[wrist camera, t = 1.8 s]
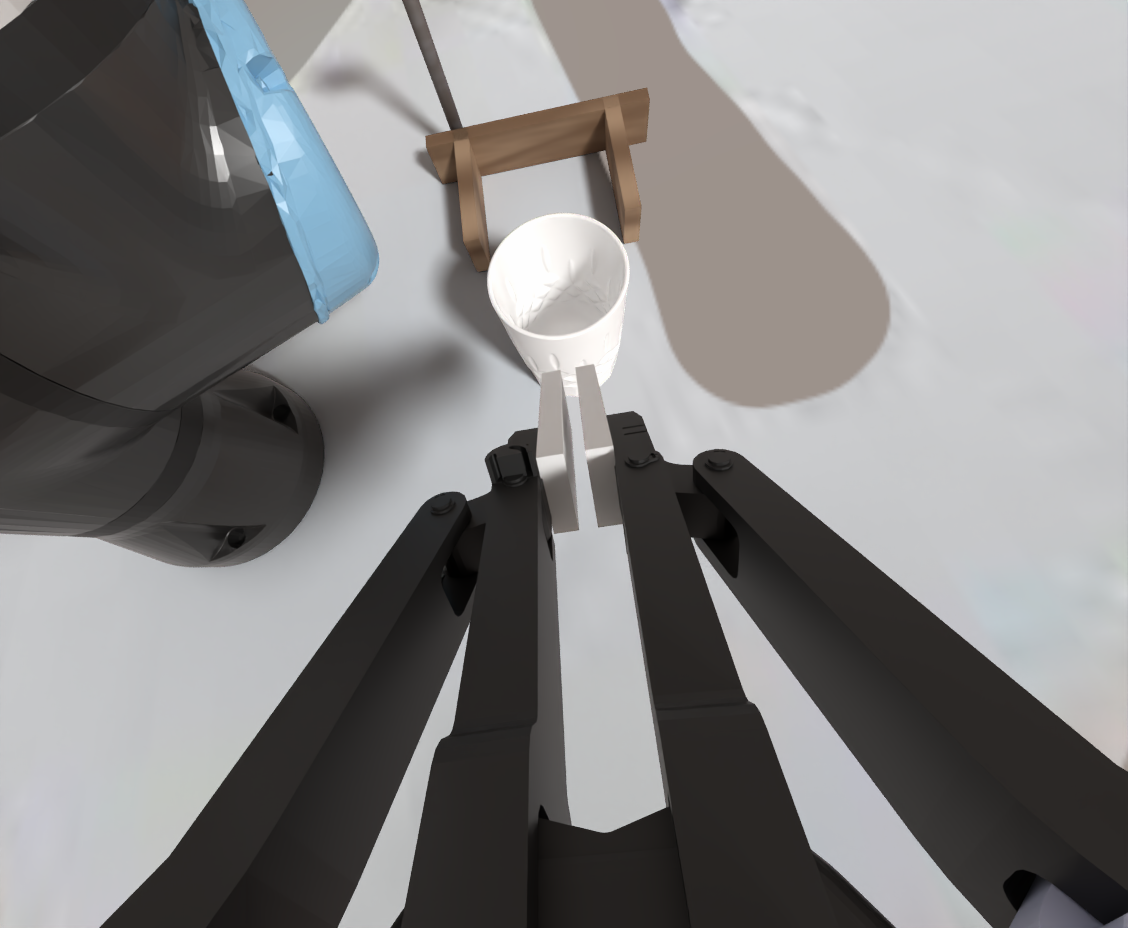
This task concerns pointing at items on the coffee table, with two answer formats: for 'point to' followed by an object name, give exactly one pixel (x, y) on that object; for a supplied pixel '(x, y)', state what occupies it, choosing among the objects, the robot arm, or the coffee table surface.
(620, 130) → the wooden cup stand
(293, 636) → the coffee table surface
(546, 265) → the white cup
